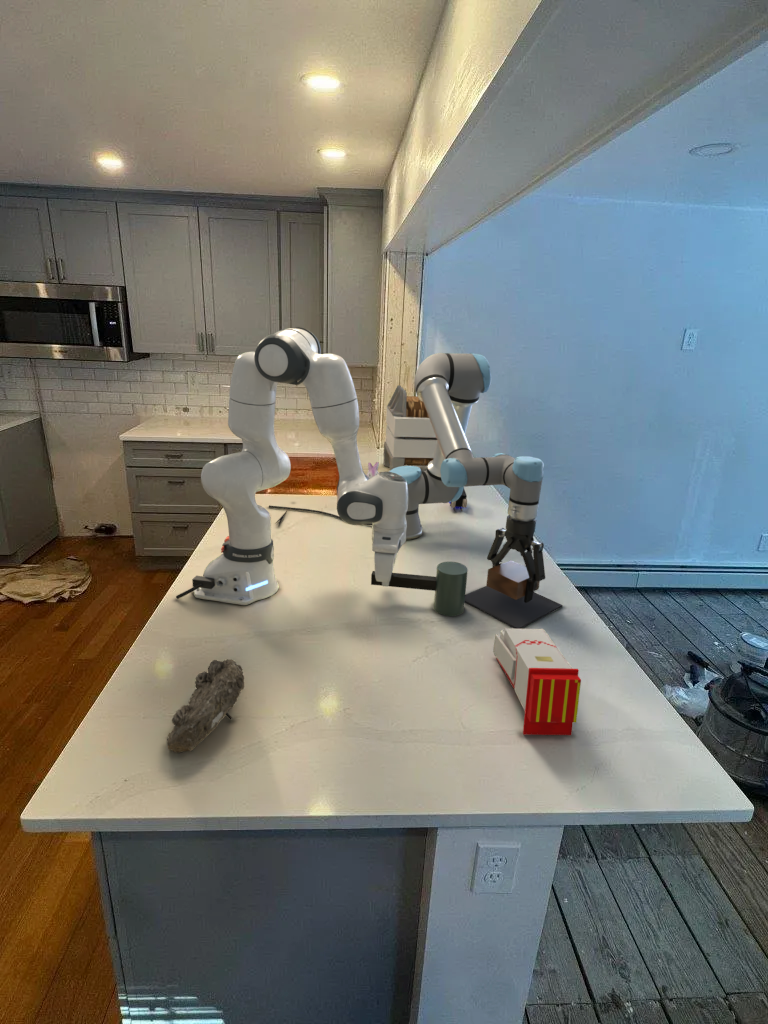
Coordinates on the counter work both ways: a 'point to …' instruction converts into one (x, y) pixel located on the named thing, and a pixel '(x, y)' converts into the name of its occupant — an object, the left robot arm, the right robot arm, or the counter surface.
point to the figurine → (372, 470)
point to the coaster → (511, 606)
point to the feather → (281, 519)
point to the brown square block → (509, 579)
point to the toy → (539, 680)
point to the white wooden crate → (408, 432)
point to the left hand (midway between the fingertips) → (386, 582)
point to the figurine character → (460, 502)
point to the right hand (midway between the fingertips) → (511, 593)
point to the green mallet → (437, 586)
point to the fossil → (206, 705)
